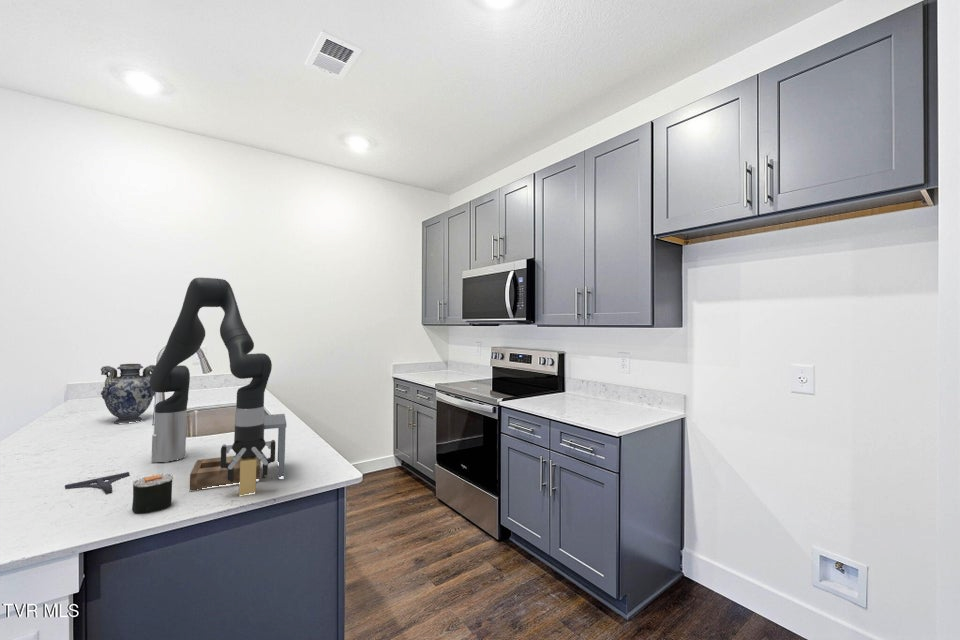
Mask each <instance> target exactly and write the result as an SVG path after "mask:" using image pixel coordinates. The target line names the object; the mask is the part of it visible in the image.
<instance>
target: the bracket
mask: <svg viewBox="0 0 960 640" xmlns="http://www.w3.org/2000/svg"><path fill="white" fill-rule="evenodd" d="M130 476H131V475H130V472H129V471H127V472H122V473H121V472H120V473H116V474H112V475H107V476H103V477H97V478H92V479H87V480H83V481H79V482H73V483H68V484H65V485H64V488H65V490H72V489H82V488H84V489H85V488H93V489H95V488H96V489H101V490H102V491H103V493H104V494H105V495H109V494H112V493H113V485H112V482H113V483H115V482H116V480H117V481H119V480H122V479H124V478H128V477H130ZM121 478H122V479H121ZM105 480H108V481H105ZM114 481H115V482H114ZM92 483H93V484H92Z"/></svg>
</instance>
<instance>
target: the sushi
mask: <svg viewBox="0 0 960 640" xmlns="http://www.w3.org/2000/svg"><path fill="white" fill-rule="evenodd" d="M173 480H174V475H172V474H171V473H161V474H160V473H156V474H152V475H150V476H144V477H141V478H138V479H135V480H132V507H131V511H132V513H134V514H136V515H143V514H144V515H145V514H150V513H154V512H155V513H156V512H159V511H163V510H166V509H167V508H168V509H169V508H170V507H171V506H172V496H173V495H172V494H173V493H172V492H173Z"/></svg>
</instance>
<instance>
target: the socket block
mask: <svg viewBox="0 0 960 640" xmlns="http://www.w3.org/2000/svg"><path fill="white" fill-rule="evenodd" d="M234 456H235V455H230V456H226V462H228V463H230V462H231V460H232V459H233V458H234ZM240 460H241V458H240V459H239V460H238V462H237V463H236V464H235V465H234V480H233V482H230V480H229V481H228V469H227V468H221V467H220V464H221V456H220V457H213V458H212V457H211V458H202V459H197V460H196V462H194V463H195V464H194V466H193V467H192V469H191V471H190V474H189V491H190V490H196V491H198V490H197V489H202V488H207V487H212V486H219V485H226V484H233V483H239V482H240ZM261 463H262V462H261V460H259V458H258V457H257V462H256V479H260V480H261Z"/></svg>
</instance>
